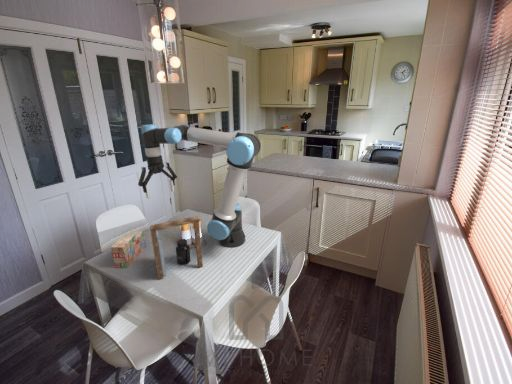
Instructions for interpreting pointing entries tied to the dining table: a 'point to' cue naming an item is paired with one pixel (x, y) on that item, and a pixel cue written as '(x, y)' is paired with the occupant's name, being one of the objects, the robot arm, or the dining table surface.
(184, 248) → the supplement bottle
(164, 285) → the dining table surface
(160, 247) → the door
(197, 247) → the door frame
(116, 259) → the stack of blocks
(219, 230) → the robot arm
